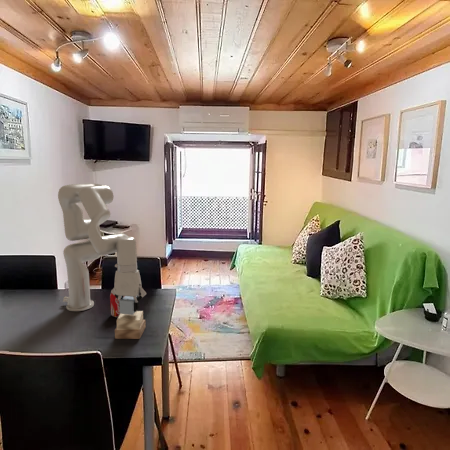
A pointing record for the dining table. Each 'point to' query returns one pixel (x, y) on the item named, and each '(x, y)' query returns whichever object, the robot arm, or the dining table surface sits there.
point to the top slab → (130, 321)
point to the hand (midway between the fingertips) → (129, 309)
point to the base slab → (130, 333)
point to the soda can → (114, 306)
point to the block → (127, 305)
